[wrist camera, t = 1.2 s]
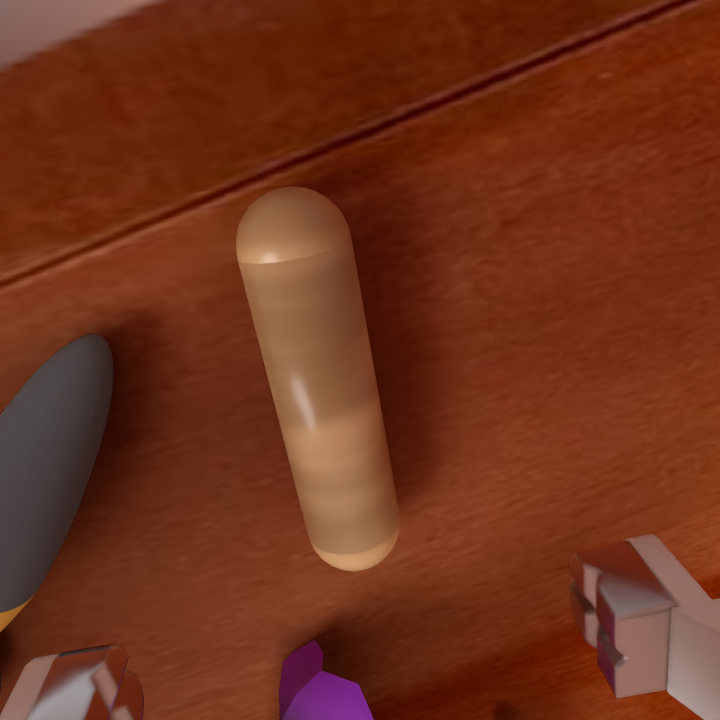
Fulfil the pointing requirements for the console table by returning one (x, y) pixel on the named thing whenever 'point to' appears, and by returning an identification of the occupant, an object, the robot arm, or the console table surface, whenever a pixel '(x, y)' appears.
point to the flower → (317, 690)
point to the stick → (320, 372)
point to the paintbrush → (48, 462)
